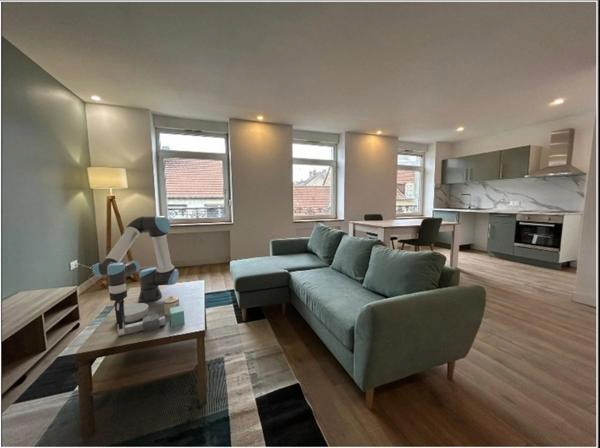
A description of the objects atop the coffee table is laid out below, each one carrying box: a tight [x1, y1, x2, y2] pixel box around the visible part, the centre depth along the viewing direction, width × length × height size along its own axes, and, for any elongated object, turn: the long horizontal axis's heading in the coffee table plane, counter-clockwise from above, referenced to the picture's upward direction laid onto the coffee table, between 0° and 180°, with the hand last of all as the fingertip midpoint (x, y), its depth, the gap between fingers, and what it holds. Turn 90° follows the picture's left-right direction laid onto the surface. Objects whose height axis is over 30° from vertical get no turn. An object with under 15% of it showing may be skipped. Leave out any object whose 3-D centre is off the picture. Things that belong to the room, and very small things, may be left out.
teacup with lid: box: [163, 294, 180, 317], centre depth 161 cm, size 12×9×12 cm
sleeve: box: [142, 313, 161, 334], centre depth 140 cm, size 7×8×6 cm
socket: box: [169, 305, 185, 328], centre depth 147 cm, size 9×7×8 cm
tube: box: [116, 314, 166, 337], centre depth 138 cm, size 4×23×10 cm, turn 121°
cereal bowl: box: [124, 302, 149, 323], centre depth 151 cm, size 17×17×7 cm
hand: (121, 332), depth 133 cm, fingers closed on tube, 4 cm apart
